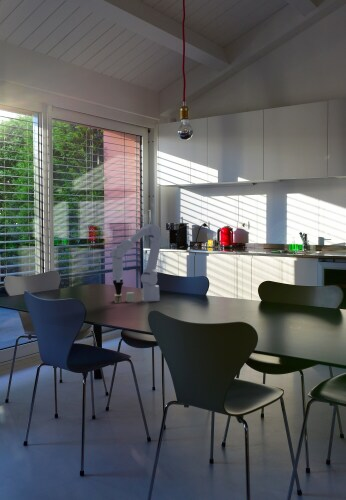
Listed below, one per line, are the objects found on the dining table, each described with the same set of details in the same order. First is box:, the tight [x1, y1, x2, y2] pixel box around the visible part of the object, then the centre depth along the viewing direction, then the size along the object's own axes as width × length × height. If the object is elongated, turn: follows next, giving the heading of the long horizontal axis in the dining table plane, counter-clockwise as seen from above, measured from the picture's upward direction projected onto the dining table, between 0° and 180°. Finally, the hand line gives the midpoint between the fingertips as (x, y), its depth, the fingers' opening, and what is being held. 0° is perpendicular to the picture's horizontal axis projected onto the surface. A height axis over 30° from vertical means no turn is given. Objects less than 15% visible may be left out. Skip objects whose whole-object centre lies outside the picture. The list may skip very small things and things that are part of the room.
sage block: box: [125, 291, 136, 303], centre depth 298 cm, size 4×4×5 cm
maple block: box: [113, 293, 123, 304], centre depth 298 cm, size 4×4×7 cm
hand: (118, 293), depth 289 cm, fingers open, 7 cm apart
